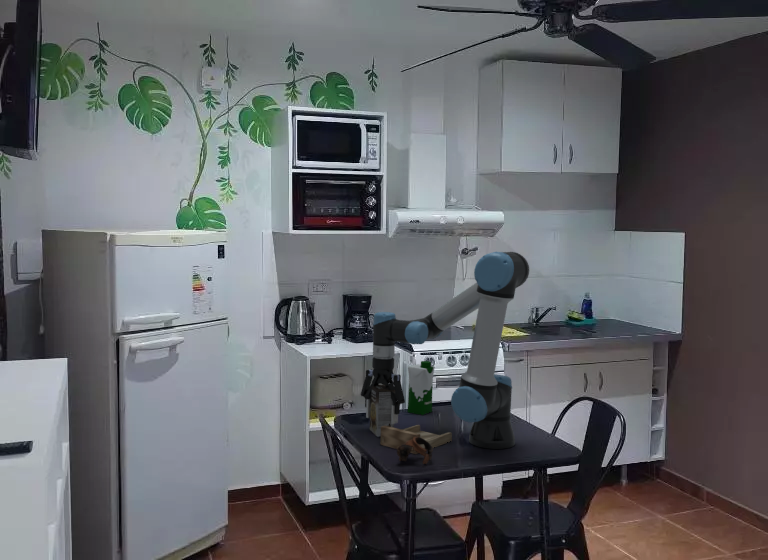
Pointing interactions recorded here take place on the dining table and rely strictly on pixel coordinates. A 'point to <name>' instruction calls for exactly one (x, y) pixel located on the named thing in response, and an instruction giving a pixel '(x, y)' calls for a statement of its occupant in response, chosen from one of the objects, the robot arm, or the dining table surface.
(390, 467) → the dining table surface
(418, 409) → the milk carton
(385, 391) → the coffee box
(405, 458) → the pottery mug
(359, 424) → the dining table surface
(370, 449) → the dining table surface
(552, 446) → the dining table surface
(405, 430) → the holder
